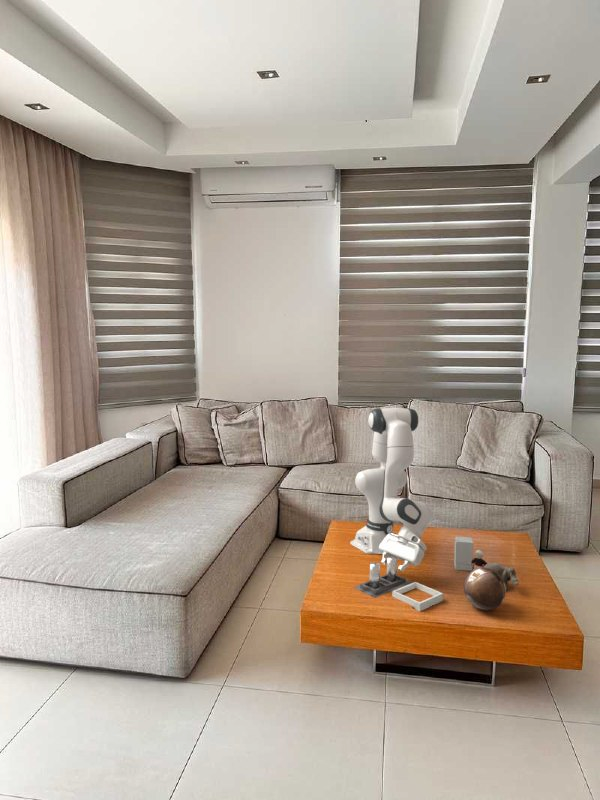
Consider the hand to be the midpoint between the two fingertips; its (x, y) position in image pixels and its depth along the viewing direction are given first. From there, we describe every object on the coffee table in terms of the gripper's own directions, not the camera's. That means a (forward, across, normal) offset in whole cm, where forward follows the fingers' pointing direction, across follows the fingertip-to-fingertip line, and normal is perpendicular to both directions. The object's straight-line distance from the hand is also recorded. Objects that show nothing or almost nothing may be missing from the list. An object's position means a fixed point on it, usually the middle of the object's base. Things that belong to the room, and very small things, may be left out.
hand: (391, 567), depth 244 cm
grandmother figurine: (-17, +20, +27) cm, 38 cm away
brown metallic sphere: (-3, +36, +13) cm, 39 cm away
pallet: (+8, 0, +2) cm, 9 cm away
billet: (+4, 0, +4) cm, 6 cm away
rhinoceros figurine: (-17, +31, +28) cm, 45 cm away
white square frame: (+7, +16, +3) cm, 18 cm away
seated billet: (+11, 0, -3) cm, 12 cm away
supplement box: (-21, +8, +32) cm, 39 cm away
